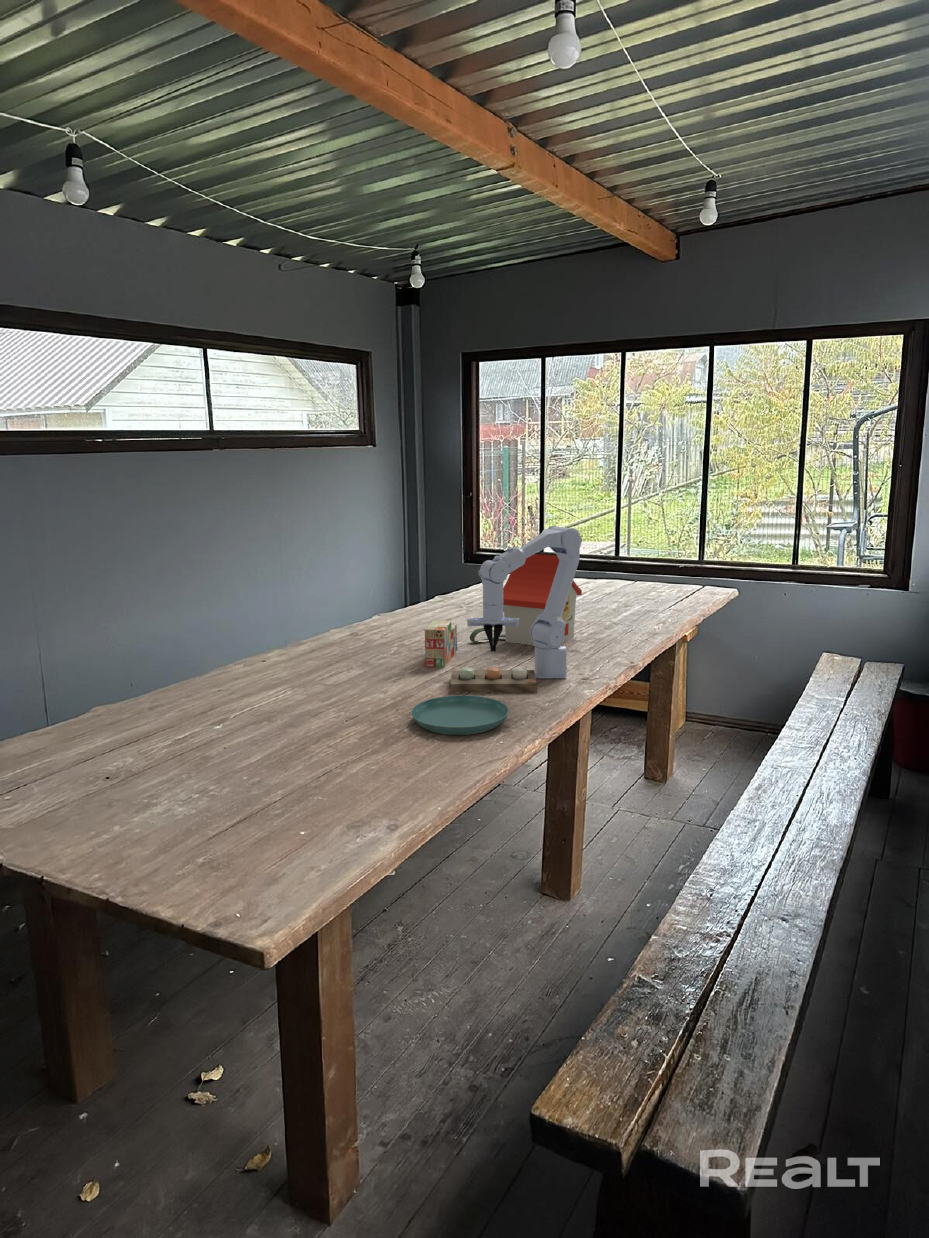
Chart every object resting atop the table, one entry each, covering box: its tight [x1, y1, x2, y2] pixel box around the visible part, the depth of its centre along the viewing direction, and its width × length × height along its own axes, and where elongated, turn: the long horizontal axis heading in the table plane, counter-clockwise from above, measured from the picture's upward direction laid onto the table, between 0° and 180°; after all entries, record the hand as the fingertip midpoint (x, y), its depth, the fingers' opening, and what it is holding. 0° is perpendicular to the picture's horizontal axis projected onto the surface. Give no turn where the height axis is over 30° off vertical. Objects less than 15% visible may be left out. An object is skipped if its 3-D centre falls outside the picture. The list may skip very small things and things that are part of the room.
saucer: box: [410, 694, 509, 736], centre depth 210 cm, size 24×24×3 cm
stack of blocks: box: [424, 620, 458, 668], centre depth 269 cm, size 21×6×12 cm, turn 170°
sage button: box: [459, 667, 475, 679], centre depth 240 cm, size 4×4×3 cm
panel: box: [450, 669, 538, 693], centre depth 240 cm, size 24×14×3 cm, turn 89°
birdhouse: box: [469, 553, 583, 647], centre depth 294 cm, size 36×30×30 cm
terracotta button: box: [485, 667, 501, 679], centre depth 240 cm, size 4×4×3 cm
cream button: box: [512, 666, 528, 679], centre depth 239 cm, size 4×4×3 cm
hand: (493, 650), depth 238 cm, fingers closed
